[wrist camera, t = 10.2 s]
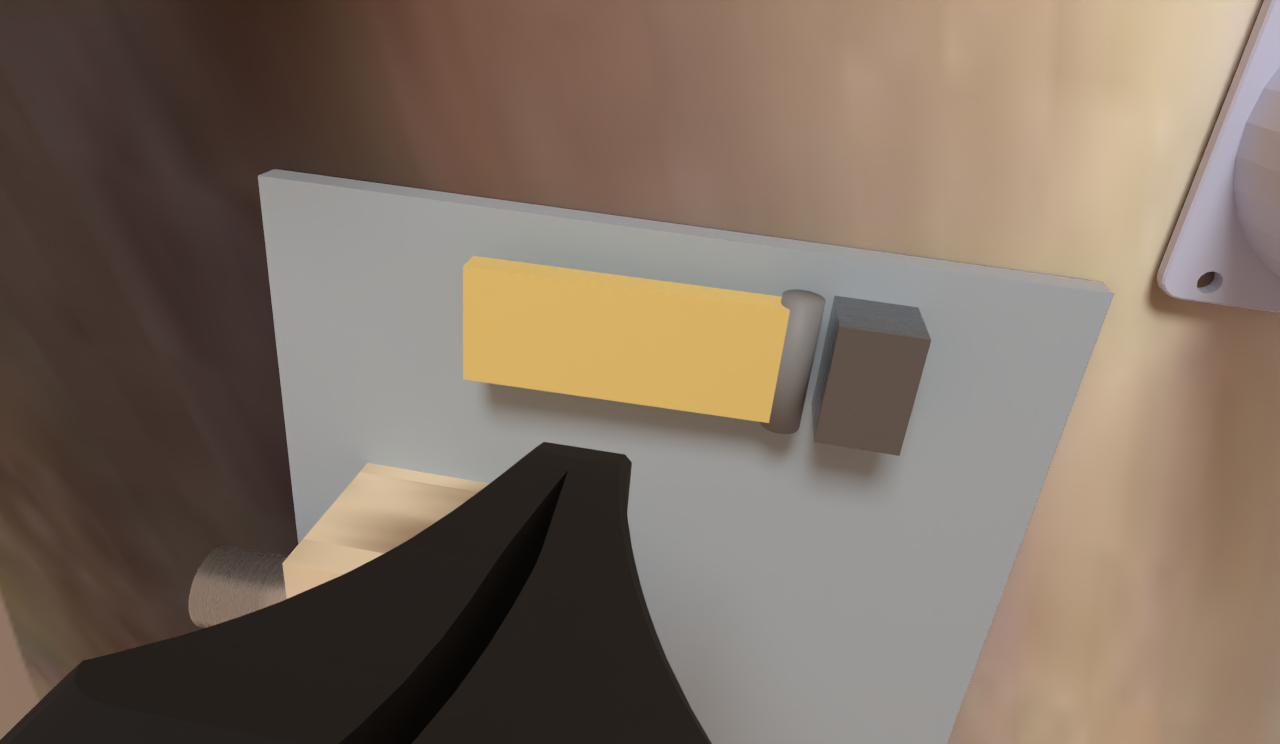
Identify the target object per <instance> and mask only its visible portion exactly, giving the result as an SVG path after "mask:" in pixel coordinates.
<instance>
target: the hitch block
mask: <svg viewBox="0 0 1280 744" xmlns="http://www.w3.org/2000/svg"><path fill="white" fill-rule="evenodd" d="M487 485H489V484H488V483H483V482H477V481H471V480H465V479H459V478H453V477H448V476H442V475H436V474H430V473H424V472H418V471H412V470H407V469H401V468H395V467H389V466H383V465H377V464H371V463H367V464H366V465H365V467H364V468H363V469H362V470H361V471H360V472H359V474H358V475H357V476H356V477H355V478H354V480H353V481H352V482H351V483H350V484H349V485H348V487H347V488H346V489H345V490H344V491H343V492H342V494H341V495H340V496H339V497H338V498H337V500H336V501H335V502H334V503H333V504H332V505H331V507H330V508H329V509H328V510H327V511H326V513H325V514H324V515H323V516H322V517H321V518H320V520H319V521H318V522H317V523H316V524H315V525H314V527H313V528H312V529H311V530H310V531H309V533H308V534H307V535H306V536H305V537H304V538H303V540H302V541H301V542H300V543H299V544H298V546H297V547H296V548H295V549H294V550H293V551H292V553H291V554H290V555H289V556H288V557H287V558H286V560H285V561H284V562H283V563H282V565H283V573H284V581H285V589H286V597H287V599H288V598H290V597H293V596H295V595H297V594H300V593H302V592H304V591H307V590H309V589H311V588H313V587H316V586H318V585H320V584H323V583H325V582H327V581H330V580H332V579H334V578H337V577H339V576H341V575H343V574H345V573H347V572H349V571H352V570H354V569H356V568H357V567H359V566H361V565H363V564H365V563H367V562H369V561H371V560H373V559H375V558H377V557H379V556H381V555H382V554H384V553H386V552H388V551H390V550H391V549H393V548H395V547H397V546H399V545H400V544H402V543H404V542H405V541H407V540H409V539H410V538H412V537H414V536H415V535H417V534H418V533H420V532H421V531H423V530H424V529H426V528H428V527H429V526H431V525H432V524H434V523H435V522H437V521H438V520H440V519H441V518H443V517H444V516H446V515H447V514H449V513H450V512H452V511H453V510H455V509H456V508H457V507H459V506H460V505H461V504H463V503H464V502H466V501H467V500H468V499H470V498H471V497H472V496H474V495H475V494H476V493H478V492H479V491H480V490H482V489H483V488H484V487H486V486H487Z"/></svg>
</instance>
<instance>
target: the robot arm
mask: <svg viewBox="0 0 1280 744" xmlns="http://www.w3.org/2000/svg"><path fill="white" fill-rule="evenodd" d="M1207 272H1215V276H1214V280H1213V281H1212V282H1211V284H1209V285H1207V286H1205V287H1201V288H1197V281H1198V280H1199V278H1200V277H1201V276H1202V275H1203V274H1205V273H1207ZM1157 283H1158V286H1159V287H1160V288H1161V289H1162V290H1163V291H1164V292H1165V293H1166V294H1167V295H1168V296H1170V297H1173V298H1176V299H1180V300H1188V301H1195V302H1202V303H1209V304H1217V305H1224V306H1231V307H1239V308H1246V309H1253V310H1260V311H1268V312H1275V313H1280V0H1264V2H1263V4H1262V7H1261V9H1260V12H1259V15H1258V17H1257V20H1256V22H1255V25H1254V27H1253V30H1252V32H1251V35H1250V38H1249V40H1248V43H1247V45H1246V48H1245V50H1244V53H1243V55H1242V58H1241V61H1240V63H1239V66H1238V68H1237V71H1236V73H1235V76H1234V78H1233V81H1232V84H1231V86H1230V89H1229V91H1228V94H1227V96H1226V99H1225V101H1224V104H1223V106H1222V109H1221V112H1220V114H1219V117H1218V119H1217V122H1216V124H1215V127H1214V129H1213V132H1212V135H1211V137H1210V140H1209V142H1208V145H1207V147H1206V150H1205V152H1204V155H1203V158H1202V160H1201V163H1200V165H1199V168H1198V170H1197V173H1196V175H1195V178H1194V180H1193V183H1192V186H1191V188H1190V191H1189V193H1188V196H1187V198H1186V201H1185V203H1184V206H1183V209H1182V211H1181V214H1180V216H1179V219H1178V221H1177V224H1176V226H1175V229H1174V232H1173V234H1172V237H1171V239H1170V242H1169V244H1168V247H1167V249H1166V252H1165V255H1164V257H1163V260H1162V262H1161V265H1160V267H1159V270H1158V274H1157ZM631 467H632V462H631V461H630V460H629V458H628V457H627V456H626V455H625V454H619V453H613V452H606V451H600V450H594V449H587V448H581V447H575V446H568V445H562V444H555V443H549V442H543V443H541V444H540V445H539V446H537V447H536V448H534V449H533V450H532V451H530V452H529V453H528V454H527V455H525V456H524V457H523V458H522V459H520V460H519V461H518V462H517V463H515V464H514V465H513V466H511V467H510V468H509V469H508V470H506V471H505V472H504V473H503V474H501V475H500V476H499V477H498V478H496V479H495V480H494V481H492V482H491V483H490V484H489V485H487V486H486V487H484V488H483V489H482V490H480V491H479V492H478V493H476V494H475V495H474V496H472V497H471V498H470V499H468V500H467V501H466V502H464V503H463V504H461V505H460V506H459V507H457V508H456V509H455V510H453V511H452V512H450V513H449V514H447V515H446V516H444V517H443V518H441V519H440V520H438V521H437V522H435V523H434V524H432V525H431V526H429V527H428V528H426V529H424V530H423V531H421V532H420V533H418V534H417V535H415V536H414V537H412V538H410V539H409V540H407V541H405V542H404V543H402V544H400V545H399V546H397V547H395V548H393V549H391V550H390V551H388V552H386V553H384V554H382V555H381V556H379V557H377V558H375V559H373V560H371V561H369V562H367V563H365V564H363V565H361V566H359V567H357V568H356V569H354V570H352V571H349V572H347V573H345V574H343V575H341V576H339V577H337V578H334V579H332V580H330V581H327V582H325V583H323V584H320V585H318V586H316V587H313V588H311V589H309V590H307V591H304V592H302V593H300V594H297V595H295V596H293V597H290V598H288V599H286V600H283V601H281V602H278V603H276V604H273V605H271V606H268V607H265V608H262V609H260V610H257V611H254V612H251V613H249V614H246V615H243V616H240V617H238V618H235V619H232V620H229V621H225V622H222V623H219V624H216V625H213V626H210V627H207V628H204V629H201V630H198V631H194V632H191V633H188V634H184V635H181V636H178V637H174V638H170V639H167V640H163V641H159V642H155V643H151V644H148V645H144V646H140V647H136V648H132V649H129V650H125V651H121V652H117V653H113V654H109V655H106V656H102V657H97V658H93V659H89V660H84V661H82V662H81V663H80V664H79V665H78V666H77V667H75V668H74V669H73V670H72V671H71V672H70V673H69V674H68V675H67V676H66V677H65V678H64V679H63V680H61V681H60V682H59V683H58V684H57V685H56V686H55V687H54V688H53V689H52V690H51V691H50V692H49V693H48V694H47V695H46V696H45V697H44V698H43V699H42V700H41V701H40V702H39V703H38V704H37V705H36V706H35V707H34V708H33V709H32V710H31V711H30V712H29V713H28V714H26V715H25V716H24V718H22V719H21V720H20V721H19V722H18V723H17V724H16V725H15V726H14V727H13V728H12V729H11V730H10V731H9V732H8V733H7V734H6V735H5V736H4V737H3V738H2V739H1V740H0V744H712V743H711V741H710V740H709V738H708V736H707V734H706V733H705V731H704V729H703V728H702V726H701V724H700V722H699V721H698V719H697V717H696V715H695V714H694V712H693V710H692V709H691V707H690V705H689V703H688V701H687V699H686V696H685V694H684V692H683V690H682V688H681V686H680V684H679V682H678V680H677V678H676V676H675V674H674V672H673V670H672V668H671V666H670V664H669V662H668V660H667V658H666V655H665V653H664V650H663V648H662V645H661V643H660V640H659V638H658V635H657V633H656V630H655V628H654V625H653V622H652V619H651V616H650V613H649V610H648V608H647V604H646V601H645V598H644V595H643V591H642V588H641V584H640V580H639V576H638V572H637V568H636V564H635V560H634V555H633V550H632V544H631V538H630V531H629V524H628V516H627V510H628V499H629V488H630V478H631Z"/></svg>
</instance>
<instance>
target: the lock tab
mask: <svg viewBox="0 0 1280 744" xmlns="http://www.w3.org/2000/svg"><path fill="white" fill-rule="evenodd" d="M825 302H826V300H825V298H824V297H822V296H821V295H819V294H817V293H814V292H811V291H806V290H798V289H793V290H787V291H784V292H783V294H782V297H781V296H773V295H765V294H758V293H750V292H743V291H735V290H728V289H720V288H712V287H705V286H697V285H690V284H682V283H675V282H667V281H660V280H652V279H644V278H637V277H629V276H622V275H614V274H607V273H599V272H592V271H584V270H576V269H569V268H561V267H554V266H546V265H539V264H531V263H524V262H516V261H508V260H501V259H493V258H486V257H478V256H473V257H472V258H471V259H470V260H469V261H468V262H467V263H466V264H465V265H464V266H463V379H464V380H471V381H478V382H485V383H492V384H499V385H506V386H513V387H520V388H527V389H534V390H541V391H548V392H555V393H562V394H569V395H576V396H583V397H590V398H597V399H604V400H611V401H618V402H625V403H632V404H639V405H646V406H653V407H660V408H667V409H674V410H681V411H688V412H695V413H702V414H709V415H716V416H723V417H730V418H737V419H744V420H751V421H758V422H760V424H761V426H762V427H763V428H765V429H767V430H768V431H771V432H774V433H778V434H792V433H795V432H797V431H798V430H799V427H800V422H801V417H802V412H803V408H804V403H805V398H806V393H807V388H808V383H809V379H810V374H811V369H812V364H813V359H814V355H815V350H816V345H817V340H818V335H819V331H820V326H821V321H822V316H823V311H824V307H825Z"/></svg>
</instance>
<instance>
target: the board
mask: <svg viewBox="0 0 1280 744" xmlns="http://www.w3.org/2000/svg"><path fill="white" fill-rule="evenodd" d="M258 182H259V191H260V200H261V209H262V218H263V227H264V236H265V245H266V255H267V264H268V273H269V282H270V291H271V300H272V309H273V318H274V327H275V336H276V345H277V355H278V364H279V373H280V382H281V391H282V400H283V409H284V418H285V427H286V436H287V445H288V455H289V464H290V473H291V482H292V491H293V500H294V509H295V518H296V527H297V536H298V544H299V543H300V542H301V541H302V540H303V538H304V537H305V536H306V535H307V534H308V533H309V531H310V530H311V529H312V528H313V527H314V525H315V524H316V523H317V522H318V521H319V520H320V518H321V517H322V516H323V515H324V514H325V513H326V511H327V510H328V509H329V508H330V507H331V505H332V504H333V503H334V502H335V501H336V500H337V498H338V497H339V496H340V495H341V494H342V492H343V491H344V490H345V489H346V488H347V487H348V485H349V484H350V483H351V482H352V481H353V480H354V478H355V477H356V476H357V475H358V474H359V472H360V471H361V470H362V469H363V468H364V467H365V465H366V464H367V463H371V464H377V465H383V466H389V467H395V468H401V469H407V470H412V471H418V472H424V473H430V474H436V475H442V476H448V477H453V478H459V479H465V480H471V481H477V482H483V483H488V484H490V483H491V482H492V481H494V480H495V479H496V478H498V477H499V476H500V475H501V474H503V473H504V472H505V471H506V470H508V469H509V468H510V467H511V466H513V465H514V464H515V463H517V462H518V461H519V460H520V459H522V458H523V457H524V456H525V455H527V454H528V453H529V452H530V451H532V450H533V449H534V448H536V447H537V446H539V445H540V444H541V443H543V442H549V443H555V444H562V445H568V446H575V447H581V448H587V449H594V450H600V451H606V452H613V453H619V454H625V455H626V456H627V457H628V458H629V460H630V461H631V462H632V467H631V478H630V488H629V499H628V510H627V516H628V524H629V531H630V538H631V544H632V550H633V555H634V560H635V564H636V568H637V572H638V576H639V580H640V584H641V588H642V591H643V595H644V598H645V601H646V604H647V608H648V610H649V613H650V616H651V619H652V622H653V625H654V628H655V630H656V633H657V635H658V638H659V640H660V643H661V645H662V648H663V650H664V653H665V655H666V658H667V660H668V662H669V664H670V666H671V668H672V670H673V672H674V674H675V676H676V678H677V680H678V682H679V684H680V686H681V688H682V690H683V692H684V694H685V696H686V699H687V701H688V703H689V705H690V707H691V709H692V710H693V712H694V714H695V715H696V717H697V719H698V721H699V722H700V724H701V726H702V728H703V729H704V731H705V733H706V734H707V736H708V738H709V740H710V741H711V743H712V744H947V742H948V739H949V736H950V734H951V731H952V728H953V725H954V723H955V720H956V717H957V715H958V712H959V709H960V707H961V704H962V701H963V699H964V696H965V693H966V690H967V688H968V685H969V682H970V680H971V677H972V674H973V672H974V669H975V666H976V664H977V661H978V658H979V655H980V653H981V650H982V647H983V645H984V642H985V639H986V637H987V634H988V631H989V629H990V626H991V623H992V621H993V618H994V615H995V612H996V610H997V607H998V604H999V602H1000V599H1001V596H1002V594H1003V591H1004V588H1005V586H1006V583H1007V580H1008V577H1009V575H1010V572H1011V569H1012V567H1013V564H1014V561H1015V559H1016V556H1017V553H1018V551H1019V548H1020V545H1021V543H1022V540H1023V537H1024V534H1025V532H1026V529H1027V526H1028V524H1029V521H1030V518H1031V516H1032V513H1033V510H1034V508H1035V505H1036V502H1037V499H1038V497H1039V494H1040V491H1041V489H1042V486H1043V483H1044V481H1045V478H1046V475H1047V473H1048V470H1049V467H1050V464H1051V462H1052V459H1053V456H1054V454H1055V451H1056V448H1057V446H1058V443H1059V440H1060V438H1061V435H1062V432H1063V430H1064V427H1065V424H1066V421H1067V419H1068V416H1069V413H1070V411H1071V408H1072V405H1073V403H1074V400H1075V397H1076V395H1077V392H1078V389H1079V386H1080V384H1081V381H1082V378H1083V376H1084V373H1085V370H1086V368H1087V365H1088V362H1089V360H1090V357H1091V354H1092V352H1093V349H1094V346H1095V343H1096V341H1097V338H1098V335H1099V333H1100V330H1101V327H1102V325H1103V322H1104V319H1105V317H1106V314H1107V311H1108V308H1109V306H1110V303H1111V300H1112V298H1113V295H1114V293H1113V292H1112V291H1111V290H1110V289H1109V288H1108V287H1107V286H1106V285H1105V284H1104V283H1103V282H1098V281H1091V280H1084V279H1076V278H1069V277H1062V276H1054V275H1047V274H1040V273H1032V272H1025V271H1018V270H1010V269H1003V268H996V267H988V266H981V265H974V264H966V263H959V262H952V261H944V260H937V259H930V258H922V257H915V256H908V255H901V254H893V253H886V252H879V251H871V250H864V249H857V248H849V247H842V246H835V245H827V244H820V243H813V242H805V241H798V240H791V239H783V238H776V237H769V236H761V235H754V234H747V233H740V232H732V231H725V230H718V229H710V228H703V227H696V226H688V225H681V224H674V223H666V222H659V221H652V220H644V219H637V218H630V217H622V216H615V215H608V214H600V213H593V212H586V211H578V210H571V209H564V208H557V207H549V206H542V205H535V204H527V203H520V202H513V201H505V200H498V199H491V198H483V197H476V196H469V195H461V194H454V193H447V192H439V191H432V190H425V189H417V188H410V187H403V186H395V185H388V184H381V183H374V182H366V181H359V180H352V179H344V178H337V177H330V176H322V175H315V174H308V173H300V172H293V171H286V170H278V169H274V170H271V171H269V172H266V173H263V174H261V175H258ZM473 256H478V257H486V258H493V259H501V260H508V261H516V262H524V263H531V264H539V265H546V266H554V267H561V268H569V269H576V270H584V271H592V272H599V273H607V274H614V275H622V276H629V277H637V278H644V279H652V280H660V281H667V282H675V283H682V284H690V285H697V286H705V287H712V288H720V289H728V290H735V291H743V292H750V293H758V294H765V295H773V296H781V297H782V294H783V292H784V291H787V290H793V289H798V290H806V291H811V292H814V293H817V294H819V295H821V296H822V297H824V298H825V300H826V302H825V307H824V311H823V316H822V321H821V326H820V331H819V335H818V340H817V345H816V350H815V355H814V359H813V364H812V369H811V374H810V379H809V383H808V388H807V393H806V398H805V403H804V408H803V412H802V417H801V422H800V427H799V430H798V431H797V432H795V433H792V434H778V433H774V432H771V431H768V430H767V429H765V428H763V427H762V426H761V424H760V422H758V421H751V420H744V419H737V418H730V417H723V416H716V415H709V414H702V413H695V412H688V411H681V410H674V409H667V408H660V407H653V406H646V405H639V404H632V403H625V402H618V401H611V400H604V399H597V398H590V397H583V396H576V395H569V394H562V393H555V392H548V391H541V390H534V389H527V388H520V387H513V386H506V385H499V384H492V383H485V382H478V381H471V380H464V379H463V266H464V265H465V264H466V263H467V262H468V261H469V260H470V259H471V258H472V257H473ZM834 296H842V297H849V298H856V299H863V300H870V301H877V302H884V303H891V304H898V305H905V306H912V307H918V308H919V310H920V313H921V315H922V318H923V320H924V323H925V325H926V328H927V330H928V333H929V335H930V338H931V343H930V347H929V351H928V354H927V358H926V361H925V365H924V369H923V372H922V376H921V380H920V383H919V387H918V391H917V394H916V398H915V402H914V405H913V409H912V412H911V416H910V420H909V423H908V427H907V431H906V434H905V438H904V442H903V445H902V449H901V452H900V456H897V455H891V454H884V453H878V452H872V451H866V450H859V449H853V448H847V447H841V446H834V445H828V444H822V443H816V442H814V432H813V416H812V400H813V395H814V390H815V385H816V381H817V376H818V371H819V367H820V362H821V357H822V352H823V348H824V343H825V338H826V334H827V329H828V324H829V319H830V315H831V310H832V305H833V301H834Z"/></svg>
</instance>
